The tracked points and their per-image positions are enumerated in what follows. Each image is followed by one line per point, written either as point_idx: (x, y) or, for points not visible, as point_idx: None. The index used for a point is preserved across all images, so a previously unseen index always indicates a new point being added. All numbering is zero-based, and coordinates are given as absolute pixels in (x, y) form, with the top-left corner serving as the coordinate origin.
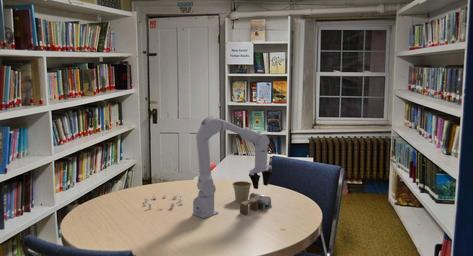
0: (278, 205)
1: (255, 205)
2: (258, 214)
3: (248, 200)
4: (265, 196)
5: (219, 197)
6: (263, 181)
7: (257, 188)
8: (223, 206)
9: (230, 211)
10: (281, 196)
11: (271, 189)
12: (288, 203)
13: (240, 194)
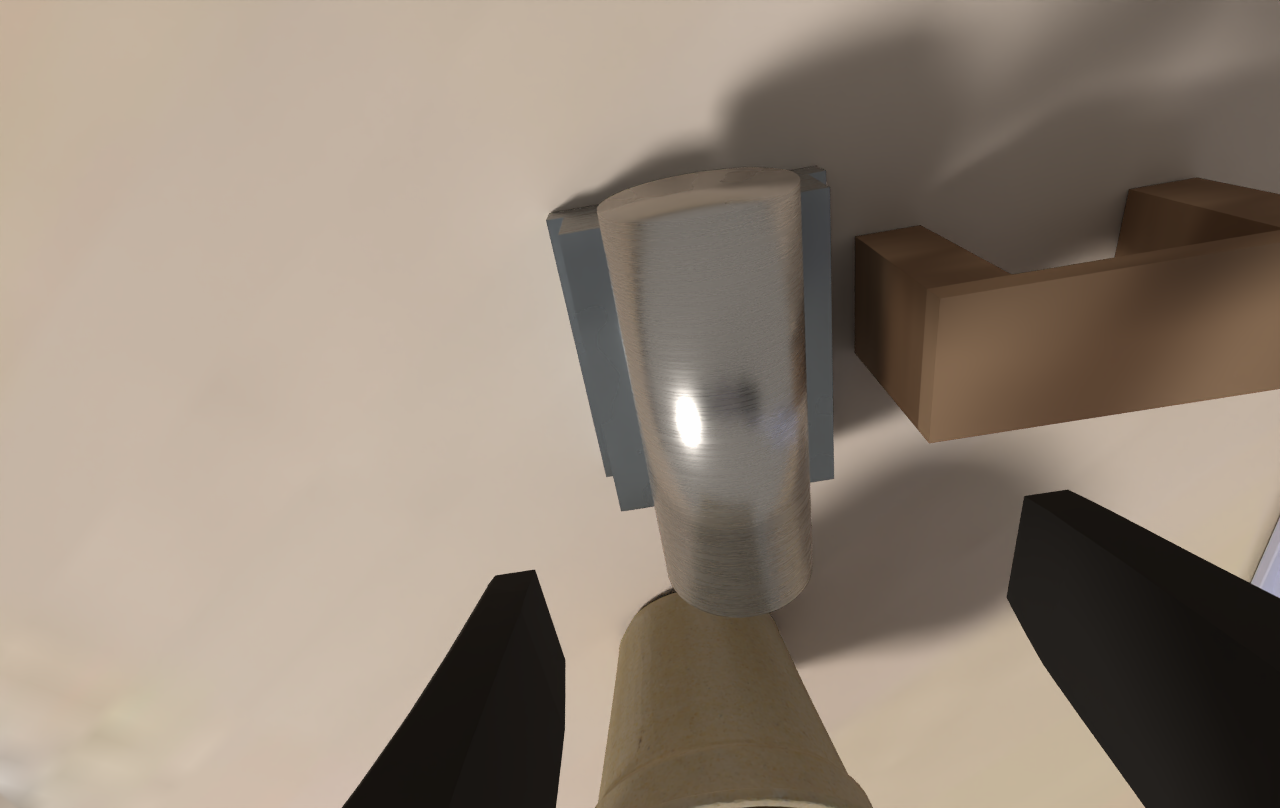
0: (386, 194)
1: (972, 257)
2: (1032, 56)
3: (1094, 393)
4: (734, 296)
5: None
6: (555, 768)
7: (1064, 500)
8: None
9: (1144, 443)
10: (87, 489)
11: (98, 729)
12: (134, 153)
13: (806, 698)
